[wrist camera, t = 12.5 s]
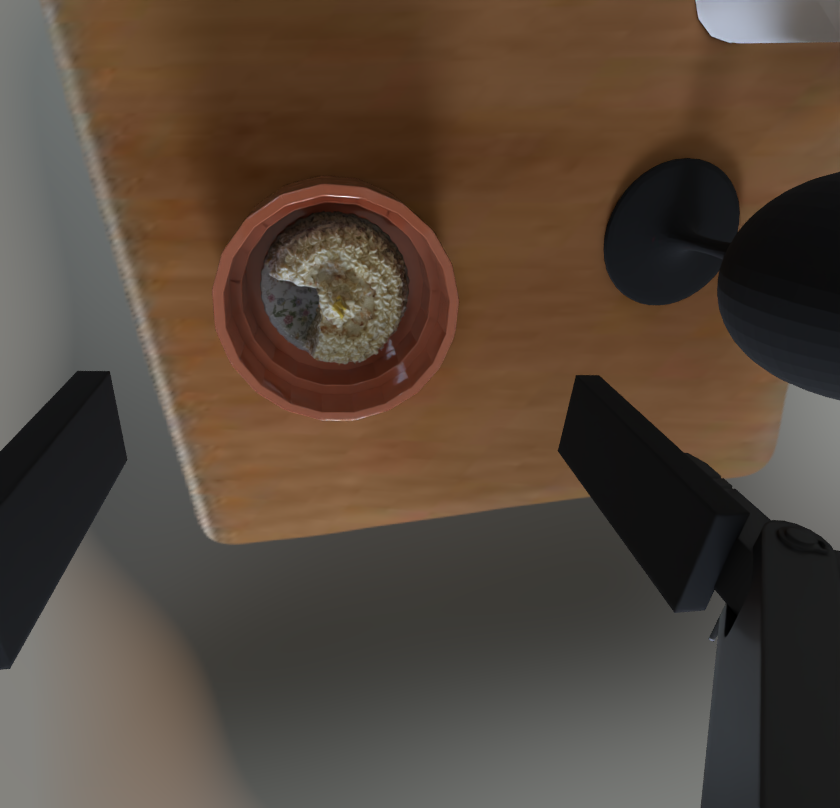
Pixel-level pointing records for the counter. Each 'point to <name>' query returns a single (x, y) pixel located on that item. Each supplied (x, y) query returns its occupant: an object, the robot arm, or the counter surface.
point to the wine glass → (739, 263)
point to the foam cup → (771, 20)
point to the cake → (335, 286)
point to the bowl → (296, 369)
